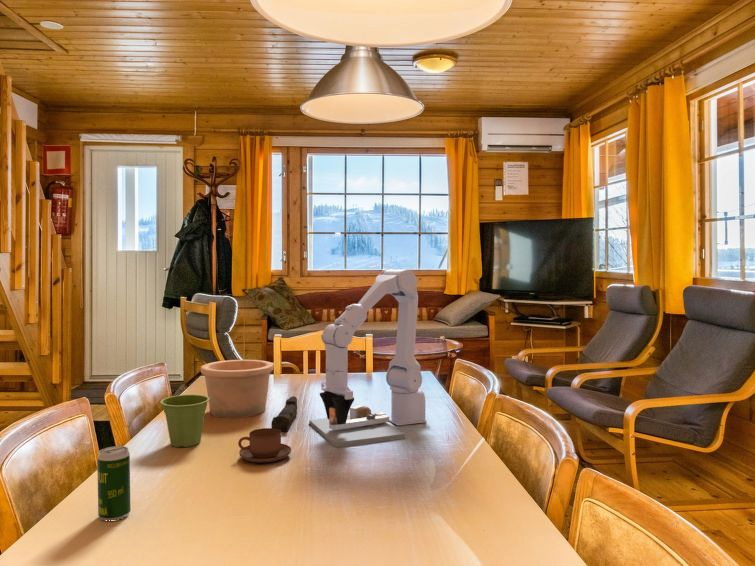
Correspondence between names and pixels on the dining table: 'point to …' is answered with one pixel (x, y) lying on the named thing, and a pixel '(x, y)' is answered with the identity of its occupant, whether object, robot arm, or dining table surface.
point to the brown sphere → (364, 412)
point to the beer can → (113, 483)
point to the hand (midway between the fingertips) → (336, 421)
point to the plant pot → (185, 418)
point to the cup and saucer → (264, 446)
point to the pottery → (237, 387)
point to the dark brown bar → (285, 415)
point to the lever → (355, 420)
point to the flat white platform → (356, 431)
